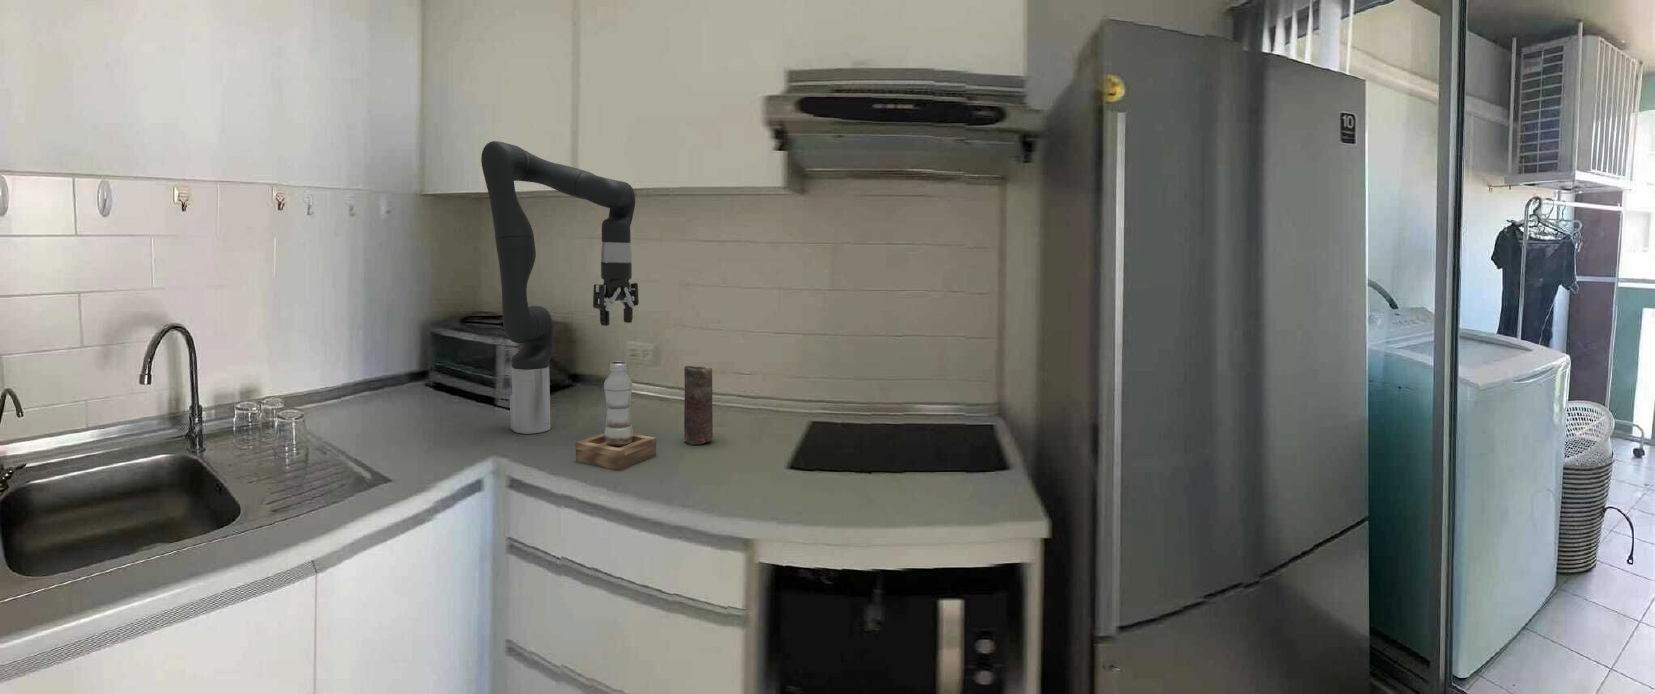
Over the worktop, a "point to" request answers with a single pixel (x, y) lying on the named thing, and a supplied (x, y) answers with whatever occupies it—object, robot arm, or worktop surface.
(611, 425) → the plastic bottle
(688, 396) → the candle
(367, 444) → the worktop surface
